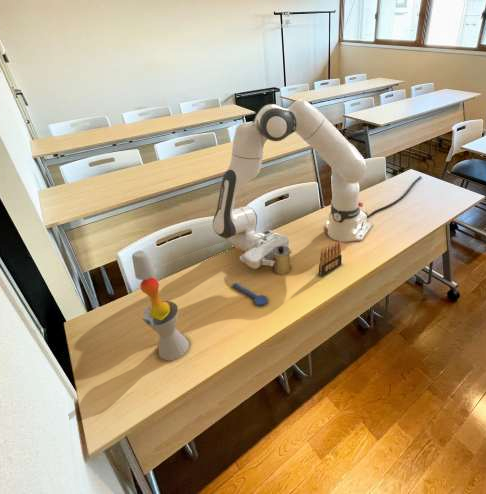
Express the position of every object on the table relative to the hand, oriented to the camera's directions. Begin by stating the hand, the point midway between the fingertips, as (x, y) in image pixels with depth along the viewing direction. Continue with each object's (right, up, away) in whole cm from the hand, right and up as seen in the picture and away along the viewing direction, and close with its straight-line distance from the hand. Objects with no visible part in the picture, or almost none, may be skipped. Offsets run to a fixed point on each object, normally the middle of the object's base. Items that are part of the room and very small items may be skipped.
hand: (282, 257), depth 127 cm
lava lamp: (-31, -26, -27) cm, 48 cm away
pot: (0, -4, +3) cm, 6 cm away
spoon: (-11, -13, -9) cm, 19 cm away
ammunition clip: (+18, -5, +3) cm, 19 cm away
